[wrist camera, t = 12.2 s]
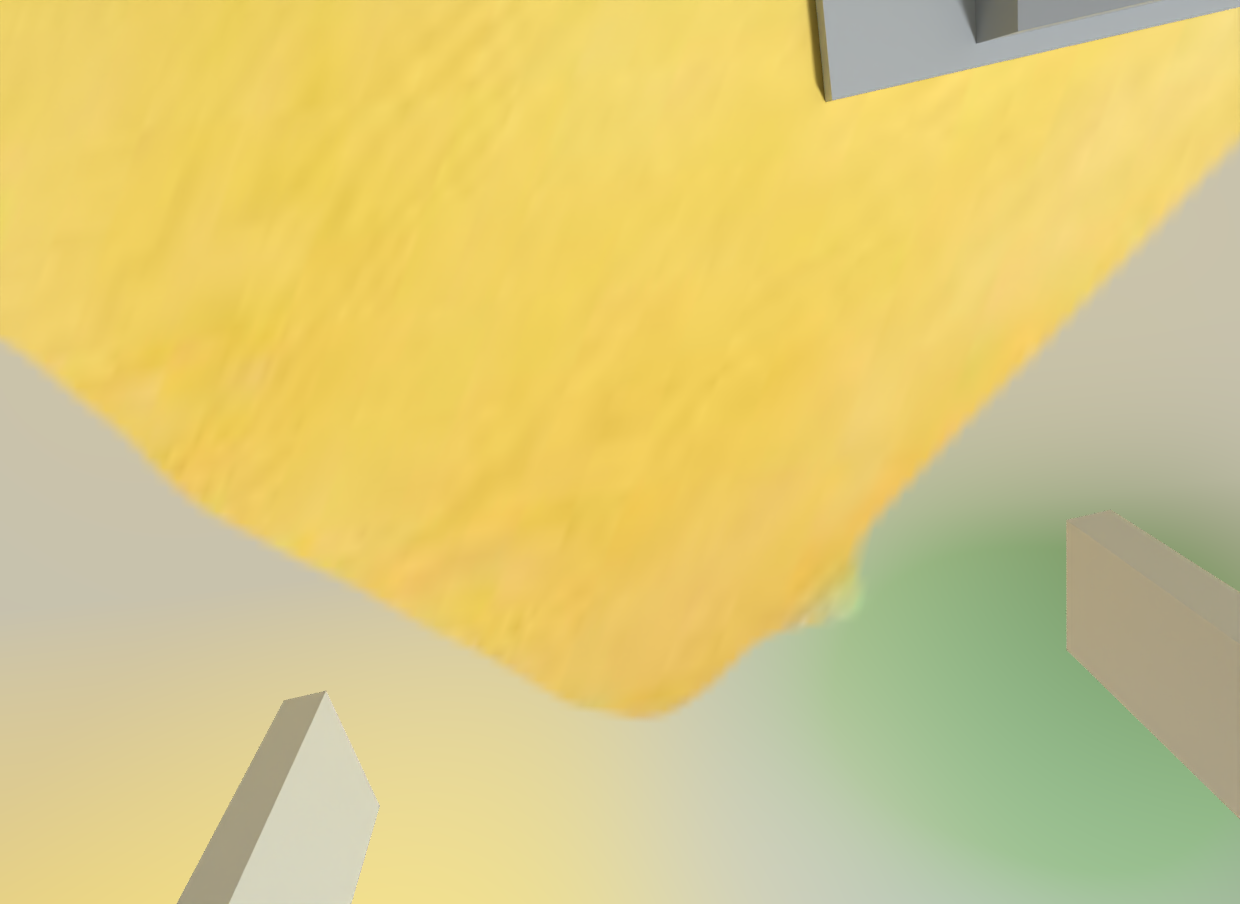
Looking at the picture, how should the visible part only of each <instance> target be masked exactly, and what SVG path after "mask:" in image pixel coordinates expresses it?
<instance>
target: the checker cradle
mask: <svg viewBox="0 0 1240 904" xmlns="http://www.w3.org/2000/svg"><path fill="white" fill-rule="evenodd" d="M815 1H816V11H817V21H818V31H819V41H820V51H821V61H822V71H823V81H824V91H825V101H826V102H828V101H832V100H836V99H841V98H845V97H849V96H854V95H858V94H862V93H867V92H871V91H875V90H880V89H884V88H889V87H893V86H897V85H902V84H906V83H910V82H915V81H919V80H923V79H928V78H932V77H936V76H941V75H945V74H950V73H954V72H958V71H963V70H967V69H971V68H976V67H980V66H984V65H989V64H993V63H997V62H1002V61H1006V60H1010V59H1015V58H1019V57H1024V56H1028V55H1032V54H1037V53H1041V52H1045V51H1050V50H1054V49H1058V48H1063V47H1067V46H1071V45H1076V44H1080V43H1085V42H1089V41H1093V40H1098V39H1102V38H1106V37H1111V36H1115V35H1119V34H1124V33H1128V32H1132V31H1137V30H1141V29H1145V28H1150V27H1154V26H1159V25H1163V24H1167V23H1172V22H1176V21H1180V20H1185V19H1189V18H1193V17H1198V16H1202V15H1206V14H1211V13H1215V12H1219V11H1224V10H1228V9H1233V8H1237V7H1240V0H815Z"/></svg>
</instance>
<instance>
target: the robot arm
mask: <svg viewBox="0 0 1240 904" xmlns="http://www.w3.org/2000/svg"><path fill="white" fill-rule="evenodd" d="M1066 522H1067V524H1066V525H1067V526H1066V530H1067V533H1066V541H1067V546H1066V547H1067V548H1066V549H1067V650H1068V652H1069V653H1070V654H1071V655H1072V656H1074V657H1075V658H1076V659H1077V660H1078V661H1079V662H1080V663H1081V664H1082V665H1083V666H1084V667H1085V668H1086V669H1087V670H1088V671H1089V672H1090V673H1091V674H1092V675H1093V676H1094V677H1095V678H1096V679H1097V680H1098V681H1099V682H1100V683H1101V684H1102V685H1103V686H1104V687H1105V688H1106V689H1107V690H1108V691H1109V692H1110V693H1111V694H1112V695H1114V697H1116V698H1117V699H1118V701H1120V702H1121V703H1122V704H1123V705H1124V706H1125V707H1126V708H1127V709H1128V710H1129V711H1130V712H1131V713H1132V714H1133V715H1134V716H1135V717H1136V718H1137V719H1138V720H1139V721H1140V722H1141V723H1142V724H1143V725H1144V726H1145V727H1146V728H1147V729H1149V731H1150V732H1151V733H1152V734H1153V735H1154V736H1155V737H1156V738H1157V739H1158V740H1159V741H1160V742H1161V743H1163V744H1164V745H1165V746H1166V747H1167V748H1168V749H1169V750H1170V751H1171V752H1172V753H1173V754H1174V755H1175V756H1176V757H1177V758H1178V759H1179V760H1180V761H1181V762H1182V763H1183V764H1184V765H1185V766H1186V767H1187V768H1188V769H1189V770H1190V771H1191V772H1192V773H1193V774H1194V775H1195V776H1197V778H1198V779H1199V780H1200V781H1201V782H1202V783H1203V784H1204V785H1205V786H1207V787H1208V788H1209V789H1210V790H1211V791H1212V792H1213V793H1214V794H1215V795H1216V796H1217V797H1218V798H1219V799H1220V800H1221V801H1222V802H1223V803H1224V804H1225V805H1226V806H1227V807H1228V808H1229V809H1230V810H1231V811H1232V812H1233V813H1234V814H1235V815H1236V816H1237V817H1238V818H1239V819H1240V592H1239V591H1237V590H1235V589H1234V588H1232V587H1231V586H1229V585H1228V584H1226V583H1224V582H1223V581H1221V580H1220V579H1218V578H1217V577H1215V576H1213V575H1212V574H1210V573H1208V572H1207V571H1205V570H1204V569H1203V568H1201V567H1199V566H1198V565H1196V564H1195V563H1193V562H1192V561H1190V560H1188V559H1187V558H1185V557H1184V556H1182V555H1181V554H1179V553H1178V552H1176V551H1174V550H1173V549H1171V548H1170V547H1168V546H1166V545H1165V544H1163V543H1162V542H1160V541H1159V540H1157V539H1156V538H1154V537H1153V536H1151V535H1149V534H1148V533H1146V532H1145V531H1143V530H1142V529H1140V528H1138V527H1137V526H1135V525H1133V524H1132V523H1131V522H1129V521H1127V520H1126V519H1124V518H1123V517H1121V516H1120V515H1118V514H1117V513H1115V512H1113V511H1112V510H1107V511H1103V512H1099V513H1094V514H1090V515H1085V516H1081V517H1077V518H1073V519H1068V520H1067V521H1066ZM379 807H380V805H379V803H378V801H377V799H376V797H375V795H374V792H373V790H372V788H371V786H370V784H369V782H368V780H367V778H366V775H365V773H364V771H363V769H362V767H361V765H360V763H359V760H358V758H357V756H356V754H355V752H354V750H353V748H352V745H351V743H350V741H349V739H348V737H347V735H346V732H345V730H344V728H343V726H342V724H341V722H340V720H339V717H338V715H337V713H336V711H335V709H334V707H333V705H332V702H331V700H330V698H329V696H328V694H327V691H323V692H319V693H315V694H310V695H306V696H302V697H297V698H293V699H288V700H285V701H283V704H282V705H281V707H280V709H279V711H278V713H277V715H276V717H275V718H274V720H273V722H272V724H271V726H270V728H269V730H268V732H267V734H266V736H265V737H264V739H263V741H262V743H261V745H260V747H259V749H258V751H257V753H256V755H255V757H254V758H253V760H252V762H251V764H250V766H249V768H248V770H247V772H246V773H245V775H244V777H243V779H242V781H241V783H240V785H239V787H238V789H237V791H236V793H235V794H234V796H233V798H232V800H231V802H230V804H229V806H228V808H227V810H226V811H225V814H224V815H223V817H222V819H221V821H220V823H219V825H218V827H217V829H216V830H215V832H214V834H213V836H212V838H211V840H210V842H209V844H208V846H207V848H206V849H205V851H204V853H203V855H202V857H201V859H200V861H199V863H198V865H197V867H196V868H195V870H194V872H193V874H192V876H191V878H190V880H189V882H188V884H187V885H186V887H185V889H184V891H183V893H182V895H181V897H180V899H179V901H178V903H177V904H351V902H352V899H353V896H354V892H355V889H356V885H357V882H358V879H359V875H360V872H361V868H362V865H363V861H364V858H365V855H366V851H367V848H368V844H369V841H370V837H371V834H372V830H373V827H374V824H375V820H376V817H377V813H378V810H379Z"/></svg>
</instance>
